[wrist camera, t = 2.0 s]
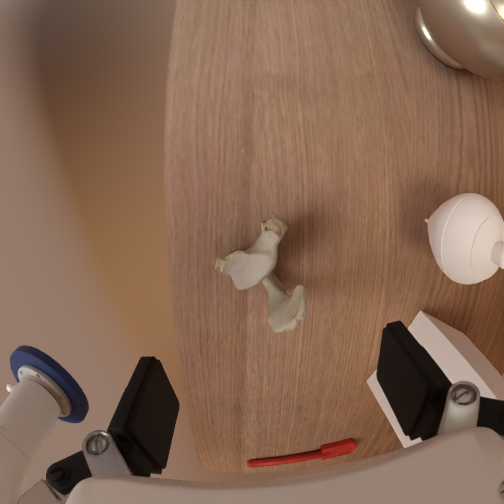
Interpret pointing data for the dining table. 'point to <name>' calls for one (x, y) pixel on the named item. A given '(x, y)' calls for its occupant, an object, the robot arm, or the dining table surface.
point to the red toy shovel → (310, 454)
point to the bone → (267, 276)
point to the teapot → (464, 34)
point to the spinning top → (467, 238)
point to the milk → (445, 365)
